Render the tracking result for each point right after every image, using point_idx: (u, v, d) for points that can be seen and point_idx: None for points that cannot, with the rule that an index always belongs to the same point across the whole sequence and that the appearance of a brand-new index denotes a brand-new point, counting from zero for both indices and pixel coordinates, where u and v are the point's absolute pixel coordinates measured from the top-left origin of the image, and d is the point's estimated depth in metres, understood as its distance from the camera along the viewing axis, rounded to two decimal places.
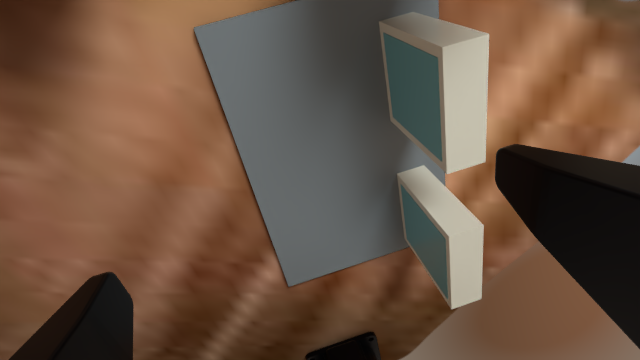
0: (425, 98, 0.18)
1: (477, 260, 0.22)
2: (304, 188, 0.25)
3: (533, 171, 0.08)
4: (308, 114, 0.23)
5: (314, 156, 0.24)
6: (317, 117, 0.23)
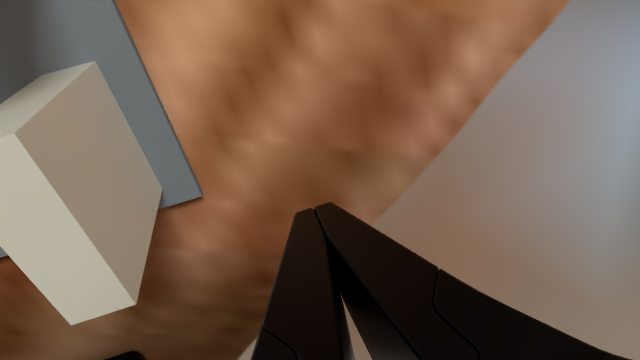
0: None
1: (61, 222, 0.10)
2: None
3: (325, 238, 0.07)
4: None
5: None
6: None
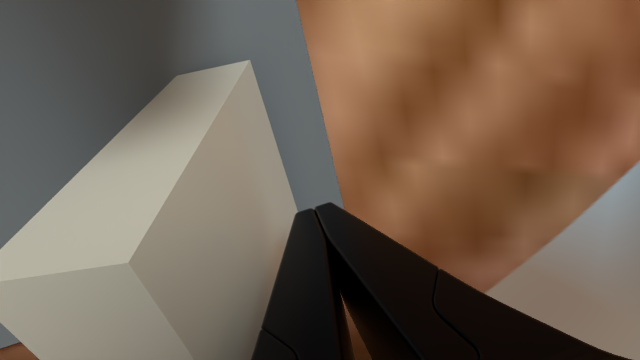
0: None
1: None
2: None
3: (325, 238, 0.07)
4: None
5: None
6: None
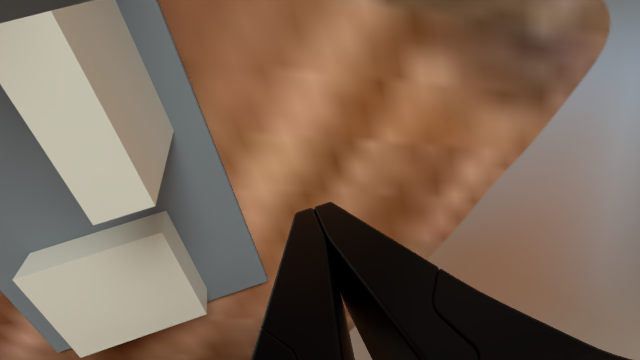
0: None
1: (46, 310, 0.19)
2: (31, 232, 0.19)
3: None
4: None
5: (30, 190, 0.18)
6: (14, 140, 0.17)
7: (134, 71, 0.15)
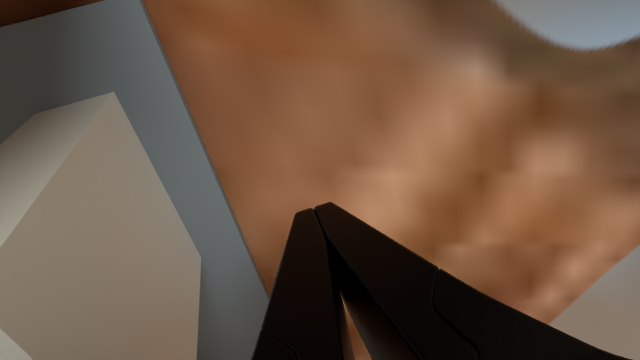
0: None
1: None
2: None
3: None
4: None
5: None
6: None
7: (148, 217, 0.10)
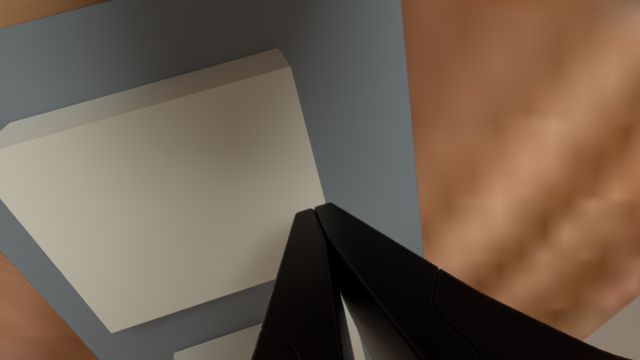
0: None
1: None
2: (180, 329, 0.15)
3: (325, 238, 0.07)
4: None
5: None
6: None
7: (239, 189, 0.10)
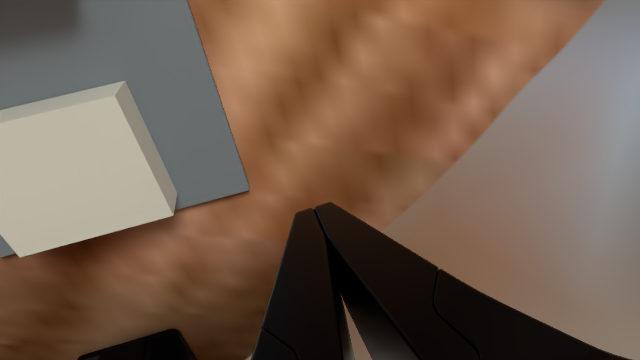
0: None
1: None
2: None
3: None
4: None
5: None
6: None
7: None
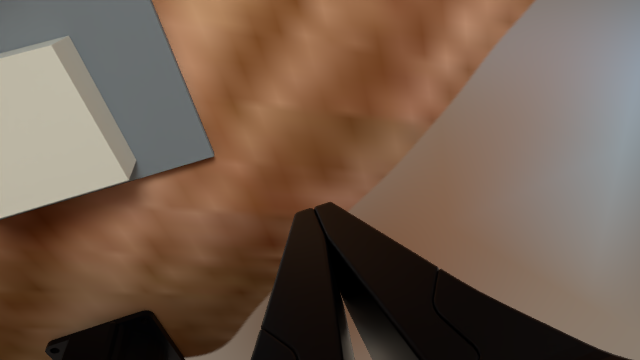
0: None
1: None
2: None
3: (325, 238, 0.07)
4: None
5: None
6: None
7: None
